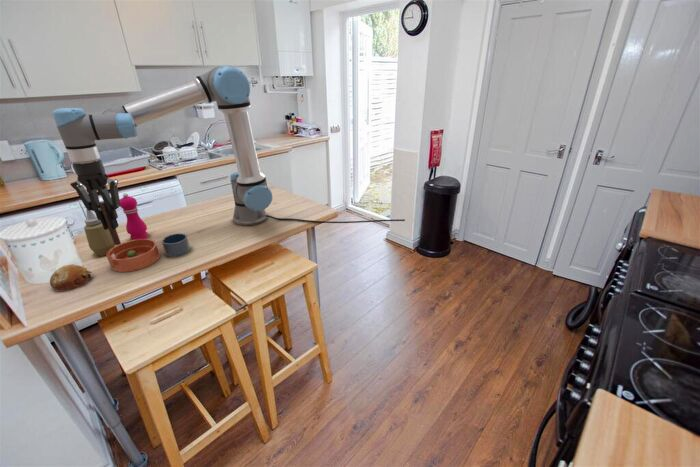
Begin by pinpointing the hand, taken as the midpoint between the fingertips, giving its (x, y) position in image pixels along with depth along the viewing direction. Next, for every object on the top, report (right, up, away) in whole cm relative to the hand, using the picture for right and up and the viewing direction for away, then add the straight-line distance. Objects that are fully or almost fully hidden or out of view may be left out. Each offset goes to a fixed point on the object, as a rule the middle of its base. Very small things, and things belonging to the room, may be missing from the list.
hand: (111, 227), depth 111 cm
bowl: (+4, -12, +7) cm, 15 cm away
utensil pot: (+16, -9, +13) cm, 23 cm away
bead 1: (+2, -10, +8) cm, 13 cm away
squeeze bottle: (-12, -10, +13) cm, 20 cm away
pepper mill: (-6, -4, +24) cm, 25 cm away
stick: (0, -6, +3) cm, 6 cm away
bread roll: (-9, -19, -5) cm, 21 cm away
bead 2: (+6, -11, +5) cm, 14 cm away
